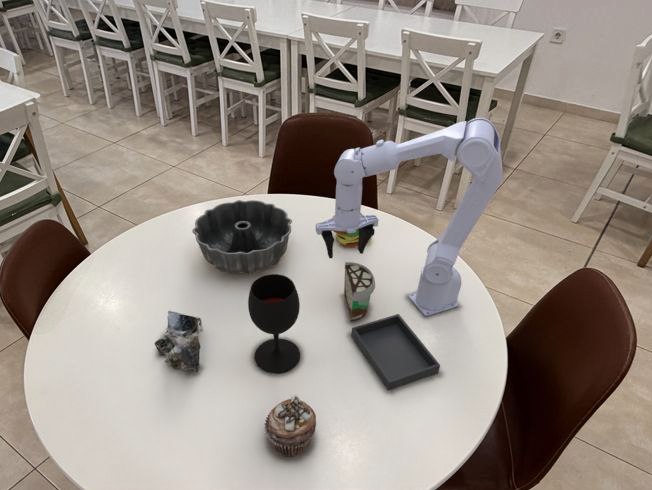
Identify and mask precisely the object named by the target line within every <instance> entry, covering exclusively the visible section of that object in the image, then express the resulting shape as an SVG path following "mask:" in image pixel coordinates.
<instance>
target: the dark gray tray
mask: <svg viewBox="0 0 652 490" xmlns="http://www.w3.org/2000/svg"><path fill="white" fill-rule="evenodd" d="M350 331H351V333H350V337H351V338H352V340H353V341H354V343H355V344H356V346H357V347H358V349H359V350H360V352H361V353H362V355H363V356H364V358H365V359H366V361H367V362H368V364H369V366H370V367H371V368H372V369H373V371H374V372H375V374H376V376H377V377H378V379H379V380H380V382H381V383H382V384H383V386H384V387H385V389H386V390H387V391H388V392H389V391H391V390H394V389H398V388H400V387H403V386H406V385H408V384H412V383H414V382H417V381H420V380H423V379H426V378H429V377H432V376H435V375H438V374H439V372H440V368H441V364H440V363H439V362H438V361H437V359H436V358H435V357H434V355H433V354H432V353H431V352H430V350H429V349H428V348H427V347H426V345H425V344H424V343H423V342H422V340H421V339H420V338H419V337H418V336H417V334H416V333H415V332H414V331H413V329H412V328H411V327H410V326H409V325H408V323H406V321H405V320H404V319H403V317H402V316H401V315H400V313H396V314H394V315H390V316H387V317H383V318H379V319H377V320H374V321H371V322H367V323H363V324H360V325H357V326H354V327H351V330H350Z"/></svg>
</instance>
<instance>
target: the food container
mask: <svg viewBox="0 0 652 490" xmlns="http://www.w3.org/2000/svg"><path fill="white" fill-rule="evenodd" d="M343 284H344V286H343V298H344V302H345V306H346V310H347V311H346V312H347V314H348V318H349V321H350V323H352V322H358V321H361V320H362V319H363V318H364V317H366V315H367V313H368V309H369V305H370V300H371V295H372V294H373V293H374V292H375V289H376V280H375V277H374V273H373V272H372V271H371V270H370V269H369V268H368V267H367V266H366V265H363V264H360V263H357V262H352V261H351V262H349V261H346V262H345V263H344V283H343Z"/></svg>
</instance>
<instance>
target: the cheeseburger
mask: <svg viewBox="0 0 652 490" xmlns="http://www.w3.org/2000/svg"><path fill="white" fill-rule="evenodd" d="M360 215H363V214H362V213H361V212H360ZM334 217H335V214H334V215H333V216H332V218H334ZM333 233H335V236H336V240H337V241H338V242H339V244H341V245H342V246H343V247H347V248H358V239H359V229H357V230H356V232H355V233H347V232H346V231H333ZM371 240H372V237H371V238H370V240H369V241H368V243H369V242H370V241H371Z"/></svg>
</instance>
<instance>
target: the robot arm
mask: <svg viewBox="0 0 652 490" xmlns="http://www.w3.org/2000/svg"><path fill="white" fill-rule="evenodd" d="M500 138H501V137H500V134H499V132H498V131H497V129H496V127H495V125H494V124H493V122H492V121H491V120H489V119H488V118H485V117H475V118H472V119H470V120H468V121H467V120H463V121H458V122H457V123H454V124H452V125H450V126H447V127H445V128H442V129H439V130H436V131H433V132H430V133H428V134H424V135H422V136H419V137H416V138H412V139H410V140H407V141H404V142H402V143H396V142H394V141H393V140H386V141H385V140H384V139H379V140H377V141H376V144H372V145H370V146H366V147H363V148H361V147H360V146H359V147H356V148H349V149H346V150H344V151H343V153H341V155H340V156H339V159H338V161H337V162H336V164H335V165H334V166H335V167H334V170H333V174H334V177H335V179H336V186H335V203H334V204H335V208H334V215H335V217H334V218H333V217H332V218H329V219H325V220H324V221H321V222H316V223H315V232H316V234H317V236H318V235H319V236H321V237H322V239H323V241H324V243H325V247H326V252H327V256H328V258H329V259H333V256H334V243H335V237H334V236H333V235H334V231H346V232H347V233H355V232H356V230H357V229H359V239H358V246H357V250H358V253H359V255H362V254H364V251H365V249H366V247H367V244H368V243H369V242H370V241H371V240H370V238H371V239H372V237H374V235H375V232H376V231H375V228H376V227H379V217H378V216H377V215H376V214H371V215H370V214H362V215H360V213H361V209H362V197H363V179H364V178H367V177H371V176H374V175H379V174H382V173H386V172H390V171H393V170H397V169H398V167H399V165H400V164H401V163H402V162H405V161H406V162H407V161H410V160H415V159H420V158H424V157H430V156H435V155H439V154H440V155H441V156H443V157H445V158H446V159H448V160H449V161H450V162H455V158H456V157H457V159H458V162H459V164H461V166H462V167H463V168H464V169H465V170H467V171H468V172H469V173H470V174H471V175H472V177H473V179H472V180H471V182H470V185H468V186H469V187H468V188H467V190H466V192H465V193H464V195H463V197H462V198H461V200H460V203H459V204H458V206H457V208H456V210H455V211H454V213H453V215H452V217H451V218H450V220H449V222H448V224H447V226H446V227H445V229H444V231H443V232H442V233H440V234H439V236H438V237H437V239H436V240H434V241H432V242H431V243H429V245H428V246H427V251H426V253H427V254H426V259H425V263H424V266H422V267H421V270H420V275H419V276H420V277H419V279H418V280H419V281H418V284H417V285H418V286H417V289H416V292H414V293H411V294H408V299H410V301H411V302H412V303H413V304H414V305H415V306H416V307H417V309H418V310H419V311H420V312H421V313H422V315H423V316H425V317H428V316H432V315H434V314H438V313H441V312H444V311H447V310H451V309H455V308H458V307H459V303H458V298H459V295H460V291H461V287H462V277H461V274H460V271H459V270H458V269H457V268H455V267H454V266H455V264H456V262H457V258H458V256H459V253H460V251H461V248H462V247H463V245H464V243H465V242H466V240H467V239H468V237H469V236H470V234H471V232H472V231H473V229H474V228H475V226H476V224H477V222H478V221H479V219H480V218H481V216H482V214H483V213H484V211H485V210H486V208H487V207H488V205H489V203H490V201H491V200H492V198H493V197H494V195H495V193H496V192H497V190H498V188H499V187H500V186H501V184H502V181H503V171H504V169H503V161H502V151H501V139H500ZM374 227H375V228H374ZM369 240H370V241H369ZM368 241H369V242H368Z"/></svg>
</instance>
